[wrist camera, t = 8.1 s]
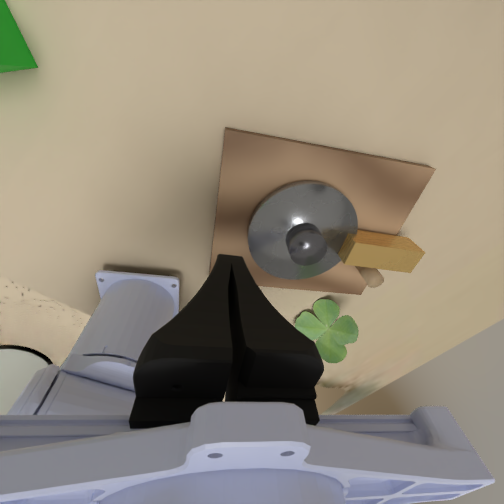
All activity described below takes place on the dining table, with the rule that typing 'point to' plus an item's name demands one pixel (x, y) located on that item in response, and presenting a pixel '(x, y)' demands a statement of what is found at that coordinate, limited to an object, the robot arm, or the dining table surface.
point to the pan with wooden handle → (319, 235)
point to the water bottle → (17, 372)
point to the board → (316, 169)
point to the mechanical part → (12, 44)
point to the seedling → (328, 330)
